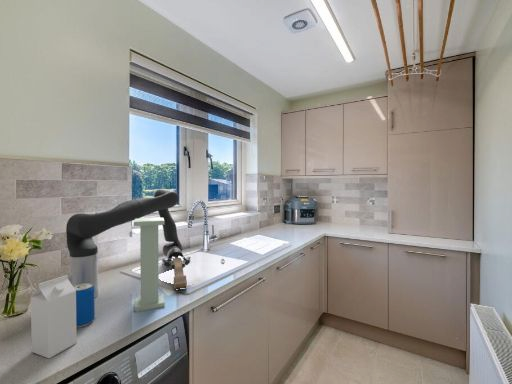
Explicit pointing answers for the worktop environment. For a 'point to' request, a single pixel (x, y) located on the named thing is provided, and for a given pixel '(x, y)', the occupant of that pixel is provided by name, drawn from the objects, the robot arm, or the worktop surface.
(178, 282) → the walnut rail
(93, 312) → the beverage can
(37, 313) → the milk carton
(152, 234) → the shelf stand
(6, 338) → the worktop surface
